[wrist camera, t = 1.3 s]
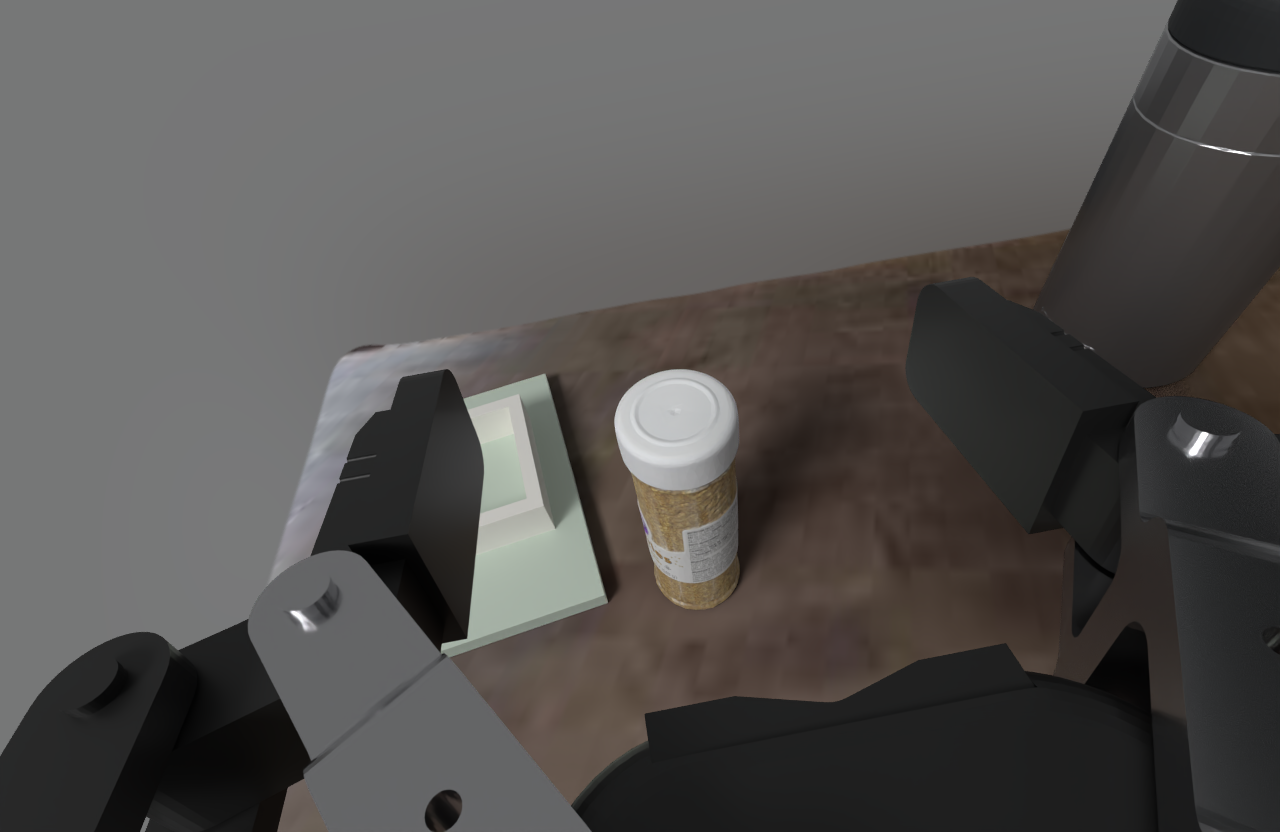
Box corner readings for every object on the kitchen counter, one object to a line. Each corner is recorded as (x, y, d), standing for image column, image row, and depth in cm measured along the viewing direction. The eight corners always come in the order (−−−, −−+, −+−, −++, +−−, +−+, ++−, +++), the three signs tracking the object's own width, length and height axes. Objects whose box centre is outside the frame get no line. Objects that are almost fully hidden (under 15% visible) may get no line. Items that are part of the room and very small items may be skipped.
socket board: (548, 383, 42) (535, 347, 40) (608, 602, 31) (595, 573, 29) (381, 435, 41) (356, 402, 39) (383, 679, 30) (348, 657, 28)
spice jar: (641, 556, 33) (593, 394, 23) (714, 520, 34) (699, 347, 23) (680, 630, 30) (645, 482, 20) (758, 588, 31) (764, 425, 21)
